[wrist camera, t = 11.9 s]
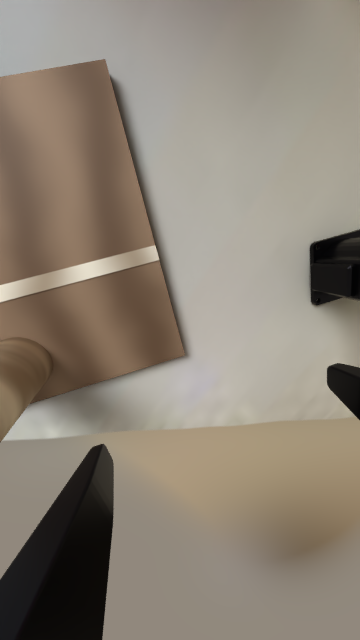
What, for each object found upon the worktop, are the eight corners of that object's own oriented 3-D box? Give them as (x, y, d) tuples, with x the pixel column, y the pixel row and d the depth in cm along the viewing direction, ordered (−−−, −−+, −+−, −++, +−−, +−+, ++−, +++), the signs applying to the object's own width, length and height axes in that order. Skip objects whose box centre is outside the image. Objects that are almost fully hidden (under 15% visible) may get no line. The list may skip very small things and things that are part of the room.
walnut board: (107, 72, 14) (104, 57, 13) (182, 350, 21) (185, 355, 20) (-189, 124, 12) (-218, 112, 11) (4, 406, 20) (-3, 414, 19)
